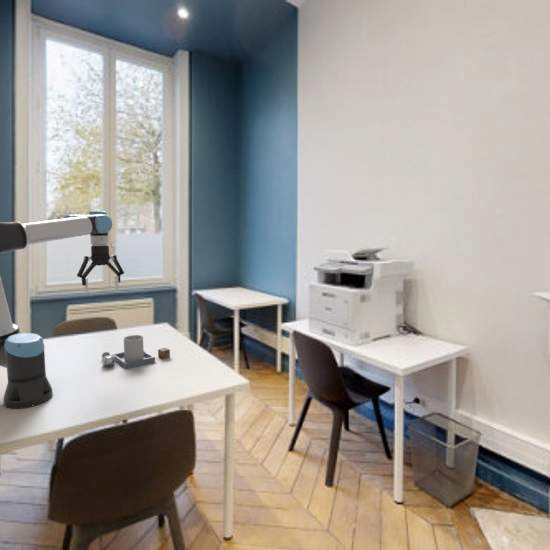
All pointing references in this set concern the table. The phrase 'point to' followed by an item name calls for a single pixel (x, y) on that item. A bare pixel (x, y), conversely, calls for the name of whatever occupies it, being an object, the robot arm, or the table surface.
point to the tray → (120, 360)
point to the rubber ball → (105, 354)
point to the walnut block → (163, 353)
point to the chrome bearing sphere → (108, 361)
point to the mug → (133, 348)
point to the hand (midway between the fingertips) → (102, 290)
